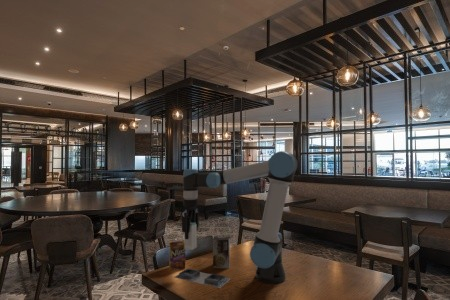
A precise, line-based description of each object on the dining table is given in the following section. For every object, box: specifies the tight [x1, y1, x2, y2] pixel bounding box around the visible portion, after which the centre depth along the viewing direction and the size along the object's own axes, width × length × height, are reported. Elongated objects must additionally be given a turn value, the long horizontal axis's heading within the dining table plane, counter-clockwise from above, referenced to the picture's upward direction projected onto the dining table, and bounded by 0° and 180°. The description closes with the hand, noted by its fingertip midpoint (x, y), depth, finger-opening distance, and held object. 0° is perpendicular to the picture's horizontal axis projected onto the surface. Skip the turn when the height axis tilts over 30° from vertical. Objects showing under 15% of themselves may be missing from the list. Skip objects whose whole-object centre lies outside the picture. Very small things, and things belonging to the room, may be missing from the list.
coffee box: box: [212, 236, 231, 270], centre depth 159 cm, size 9×6×16 cm
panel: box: [174, 268, 231, 290], centre depth 142 cm, size 26×12×2 cm, turn 63°
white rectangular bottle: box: [183, 222, 198, 251], centre depth 146 cm, size 5×4×13 cm
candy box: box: [168, 239, 187, 271], centre depth 155 cm, size 9×4×15 cm, turn 98°
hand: (190, 243), depth 146 cm, fingers closed on white rectangular bottle, 4 cm apart
